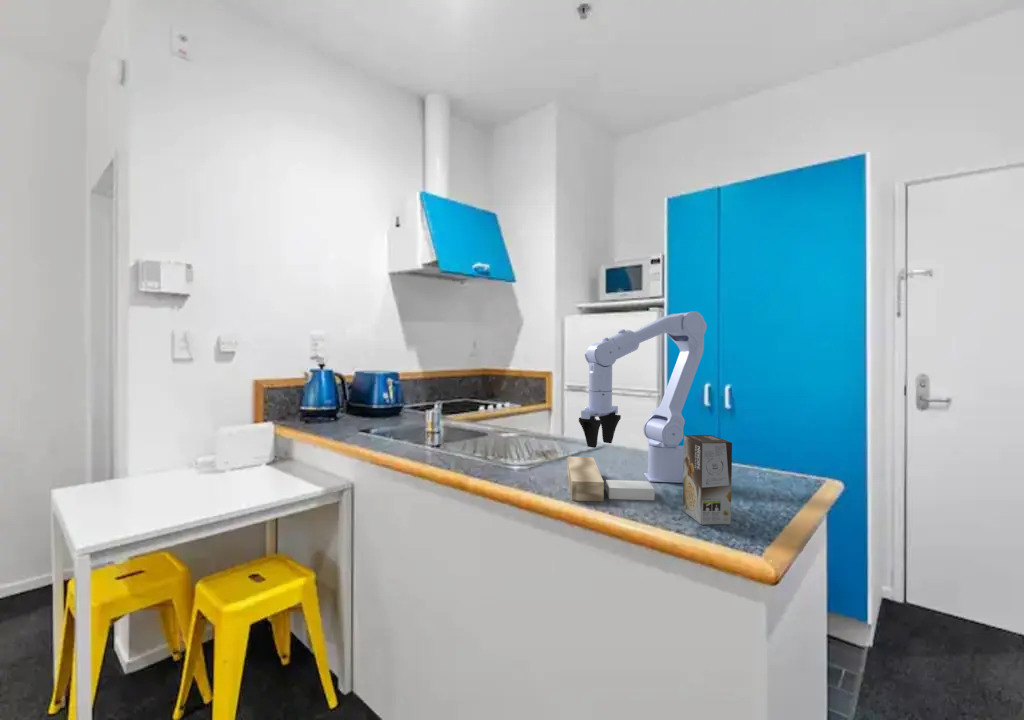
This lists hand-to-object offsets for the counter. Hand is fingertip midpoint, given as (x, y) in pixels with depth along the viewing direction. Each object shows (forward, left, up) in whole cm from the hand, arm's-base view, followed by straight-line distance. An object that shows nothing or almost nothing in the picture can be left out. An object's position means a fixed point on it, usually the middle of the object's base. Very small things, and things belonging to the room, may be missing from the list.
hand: (599, 444), depth 127 cm
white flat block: (-6, +10, -10) cm, 15 cm away
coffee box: (-19, +24, -10) cm, 32 cm away
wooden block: (+4, +2, -10) cm, 11 cm away
